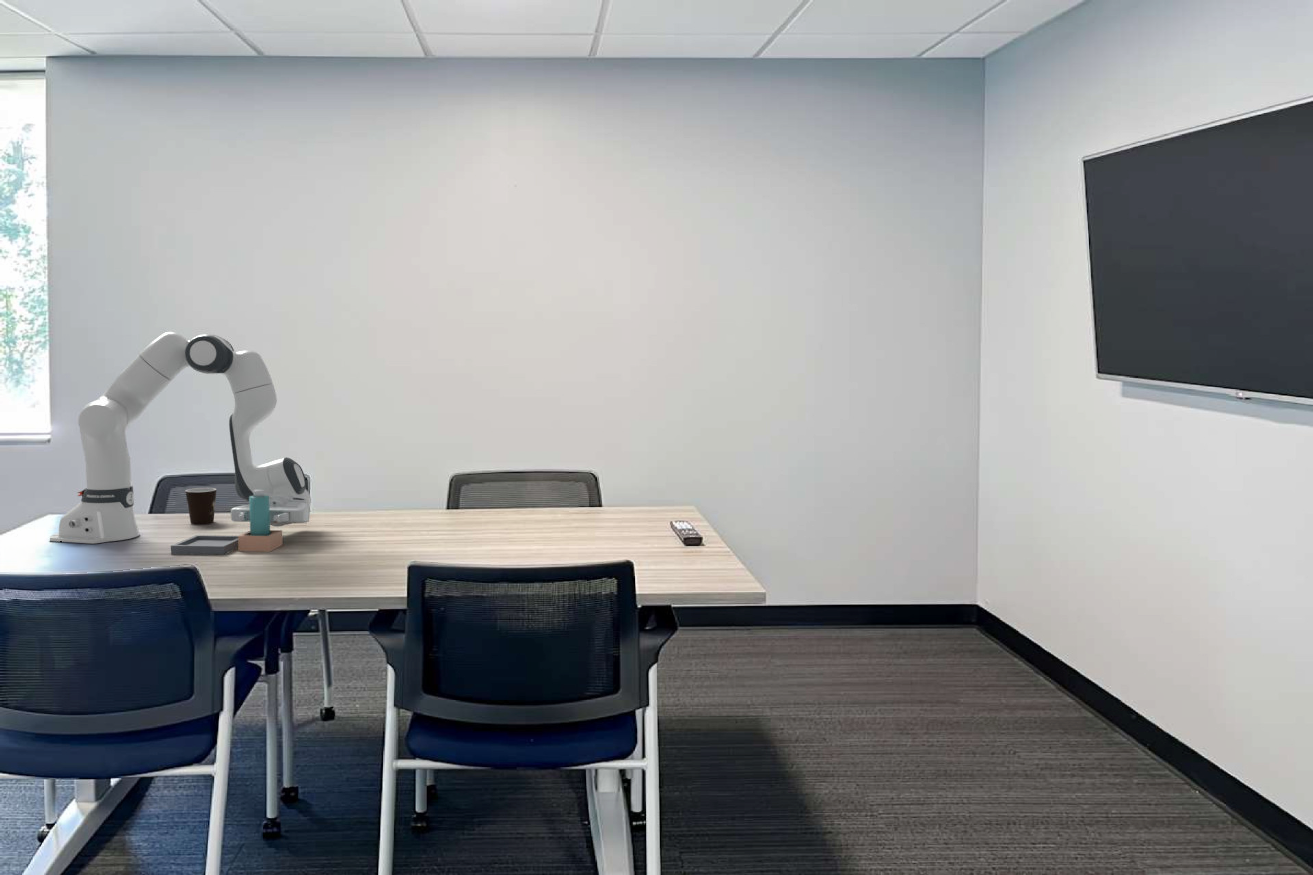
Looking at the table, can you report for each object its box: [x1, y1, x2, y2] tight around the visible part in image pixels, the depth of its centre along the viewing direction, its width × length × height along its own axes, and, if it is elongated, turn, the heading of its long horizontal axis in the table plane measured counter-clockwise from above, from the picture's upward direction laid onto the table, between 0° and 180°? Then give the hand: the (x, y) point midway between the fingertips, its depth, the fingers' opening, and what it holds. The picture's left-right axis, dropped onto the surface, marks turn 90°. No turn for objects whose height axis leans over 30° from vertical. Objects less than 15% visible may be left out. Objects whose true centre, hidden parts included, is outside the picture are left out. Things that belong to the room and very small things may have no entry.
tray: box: [170, 534, 239, 555], centre depth 282 cm, size 14×14×2 cm
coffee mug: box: [184, 487, 217, 526], centre depth 320 cm, size 12×9×10 cm
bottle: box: [248, 490, 271, 536], centre depth 283 cm, size 5×5×16 cm
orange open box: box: [237, 529, 283, 552], centre depth 284 cm, size 8×8×4 cm
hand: (258, 518), depth 282 cm, fingers open, 8 cm apart
